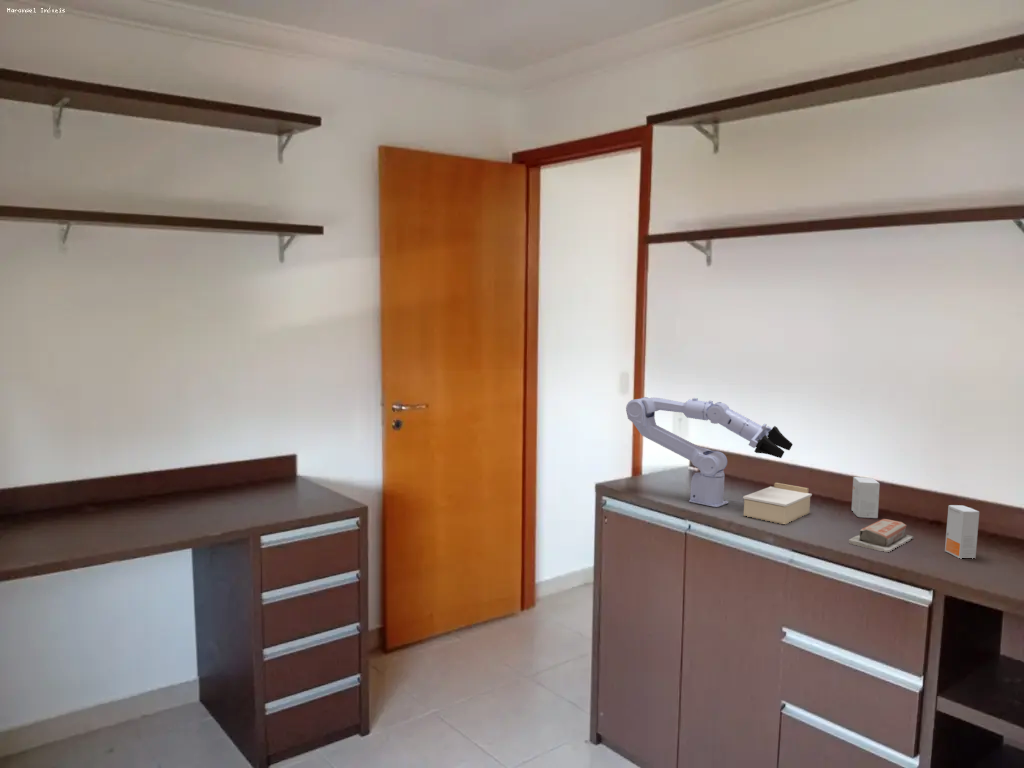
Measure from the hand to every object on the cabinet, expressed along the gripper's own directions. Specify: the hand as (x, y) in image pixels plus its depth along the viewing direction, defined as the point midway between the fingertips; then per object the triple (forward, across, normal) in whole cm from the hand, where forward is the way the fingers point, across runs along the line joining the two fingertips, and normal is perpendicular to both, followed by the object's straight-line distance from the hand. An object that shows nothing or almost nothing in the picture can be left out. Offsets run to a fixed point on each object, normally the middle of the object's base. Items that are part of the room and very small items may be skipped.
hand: (786, 451), depth 223 cm
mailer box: (+6, -5, +17) cm, 19 cm away
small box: (+26, +13, +12) cm, 31 cm away
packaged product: (+33, -13, +4) cm, 36 cm away
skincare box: (+49, -12, -3) cm, 51 cm away
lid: (+4, -3, +12) cm, 14 cm away
